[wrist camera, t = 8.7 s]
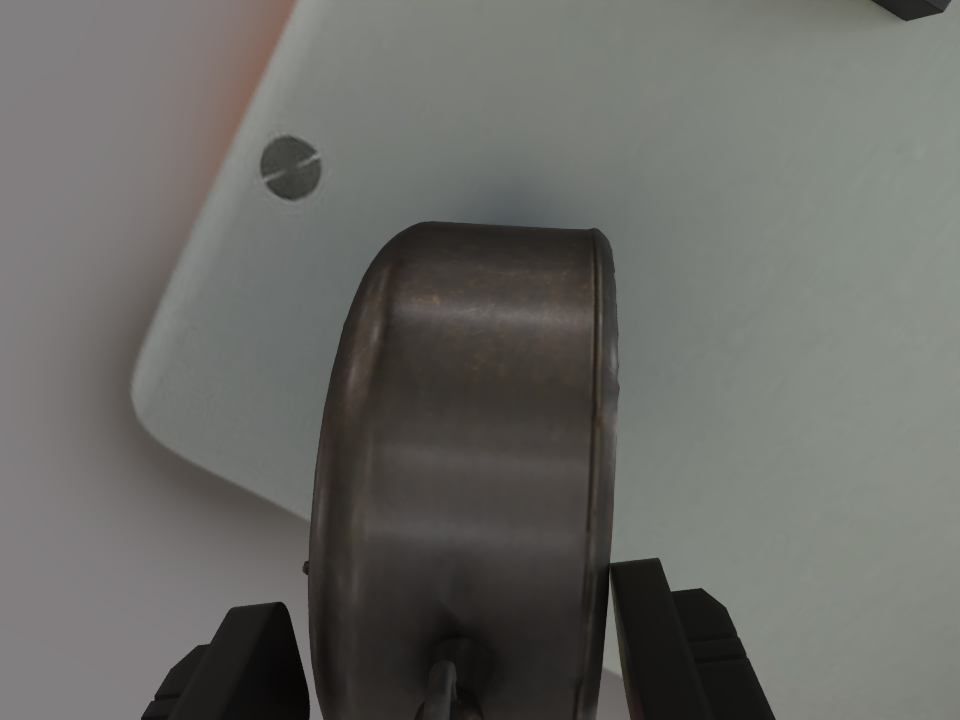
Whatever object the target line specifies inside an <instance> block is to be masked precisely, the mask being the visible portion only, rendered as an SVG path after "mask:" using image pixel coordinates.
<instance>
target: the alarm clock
mask: <svg viewBox="0 0 960 720" xmlns="http://www.w3.org/2000/svg"><path fill="white" fill-rule="evenodd" d="M614 273H615V269H614V262H613V256H612V249H611V247H610V243H609V241H608V239H607V238H606V236H605V235H604V234H603V233H602V232H601V231H600V230H598V229H596V228H592V229H588V230H584V229H556V228H538V227H521V226H503V225H487V224H470V223H453V222H436V221H430V222H421V223H418V224H415V225H413V226H410V227H408V228H407V229H405V230H403V231H402V232H400V233H398V234H397V235H396V236H395V237H393V238H392V239H391V240H390V241H389V242H388V243H387V244H386V245H385V246H384V247H383V248H382V249H381V250H380V252H379V253H378V254H377V256H376V257H375V258H374V260H373V261H372V263H371V264H370V266H369V268H368V269H367V271H366V273H365V275H364V276H363V278H362V281H361V283H360V285H359V288H358V290H357V292H356V294H355V297H354V299H353V302H352V304H351V307H350V310H349V313H348V316H347V319H346V321H345V323H344V326H343V330H342V334H341V338H340V342H339V346H338V350H337V354H336V358H335V361H334V365H333V369H332V373H331V378H330V383H329V388H328V393H327V398H326V403H325V407H324V413H323V420H322V426H321V433H320V440H319V447H318V454H317V462H316V469H315V479H314V490H313V502H312V514H311V527H310V541H309V561H305V563H304V566H303V572H304V573H305V574H306V575H308V602H309V603H308V605H309V606H308V607H309V637H310V650H311V662H312V669H313V675H314V681H315V688H316V694H317V697H318V701H319V705H320V709H321V712H322V716H323V719H324V720H596V715H597V705H598V696H599V688H600V680H601V672H602V664H603V652H604V640H605V628H606V617H607V606H608V595H609V566H610V553H611V541H612V525H613V508H614V483H615V464H616V440H617V425H618V410H617V403H618V396H619V389H620V387H619V384H618V380H617V378H618V368H619V363H618V346H617V341H618V335H619V334H618V324H617V304H616V285H615V278H614Z"/></svg>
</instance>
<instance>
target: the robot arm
mask: <svg viewBox="0 0 960 720" xmlns="http://www.w3.org/2000/svg"><path fill="white" fill-rule="evenodd" d="M609 572H610V581H611V589H612V597H613V605H614V614H615V622H616V630H617V638H618V646H619V654H620V661H621V668H622V675H623V681H624V687H625V693H626V698H627V703H628V708H629V713H630V718H631V720H776V719H775V717H774V715H773V713H772V710H771V708H770V706H769V704H768V701H767V699H766V697H765V695H764V692H763V690H762V688H761V685H760V683H759V681H758V679H757V676H756V674H755V672H754V670H753V667H752V665H751V663H750V661H749V658H747V656H746V652H745V649H744V647H743V645H742V643H741V640H740V638H739V637H738V636H737V631H736V629H735V627H734V625H733V622H732V620H731V618H730V616H729V613H728V611H727V609H726V607H725V606H723V605H722V604H721V603H720V602H718V601H717V600H716V599H715V598H713V597H712V596H711V595H710V594H708V593H707V592H706V591H705V590H703V589H702V588H699V589H690V590H681V591H673V592H671V591H670V588H669V585H668V582H667V580H666V577H665V574H664V571H663V568H662V565H661V562H660V560H659V558H651V559H642V560H634V561H625V562H617V563H610V566H609ZM309 718H310V701H309V692H308V687H307V682H306V678H305V674H304V670H303V666H302V663H301V658H300V655H299V650H298V646H297V642H296V639H295V634H294V630H293V626H292V622H291V618H290V615H289V612H288V609H287V608H286V606H285V605H284V603H282V602H273V603H265V604H256V605H248V606H240V607H233V608H231V609H230V610H229V612H228V613H227V614H226V616H225V618H224V620H223V622H222V623H221V625H220V627H219V629H218V630H217V632H216V634H215V636H214V637H213V639H212V641H211V643H210V644H206V645H198V646H197V647H195V648H194V649H193V650H192V651H191V652H190V653H189V654H188V655H186V656H185V657H184V658H183V659H182V660H181V661H180V662H179V663H177V664H176V665H175V666H174V667H173V668H172V669H171V670H170V671H169V673H168V675H167V676H166V678H165V679H164V681H163V683H162V685H161V686H160V688H159V689H158V691H157V693H156V694H155V700H154V701H151V702H150V704H149V706H148V707H147V709H146V711H145V712H144V714H143V716H142V717H141V720H309Z"/></svg>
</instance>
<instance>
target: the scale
mask: <svg viewBox="0 0 960 720" xmlns="http://www.w3.org/2000/svg"><path fill="white" fill-rule="evenodd" d="M873 1H874V2H876V3H878V4H879V5H881V6H883V7H884V8H886V9H888V10H889V11H891V12H892V13H894V14H896V15H897V16H899V17H901V18H902V19H904V20H905V21H909V20H913V19H917V18H922V17H926V16H930V15H934V14H938V13H943V12H944V11H945V9H946V8H947V6H948V5H949V3H950V2H951V0H873Z"/></svg>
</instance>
